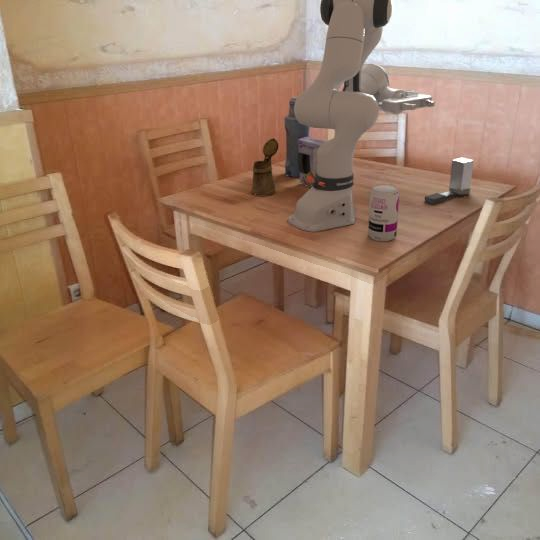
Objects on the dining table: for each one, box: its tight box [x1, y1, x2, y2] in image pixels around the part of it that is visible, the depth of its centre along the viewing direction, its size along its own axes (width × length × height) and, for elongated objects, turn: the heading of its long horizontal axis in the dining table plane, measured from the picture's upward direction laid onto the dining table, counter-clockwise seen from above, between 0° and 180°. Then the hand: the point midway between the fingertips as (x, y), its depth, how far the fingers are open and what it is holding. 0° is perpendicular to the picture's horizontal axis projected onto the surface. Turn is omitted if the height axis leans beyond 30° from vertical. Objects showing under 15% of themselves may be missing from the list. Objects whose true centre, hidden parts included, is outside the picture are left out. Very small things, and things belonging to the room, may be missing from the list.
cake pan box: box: [298, 136, 326, 188], centre depth 203 cm, size 19×5×18 cm, turn 33°
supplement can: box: [367, 183, 400, 242], centre depth 161 cm, size 8×8×15 cm
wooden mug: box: [251, 137, 279, 196], centre depth 203 cm, size 9×14×18 cm, turn 150°
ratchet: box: [424, 187, 471, 206], centre depth 192 cm, size 19×7×6 cm, turn 124°
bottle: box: [284, 96, 311, 178], centre depth 217 cm, size 10×10×30 cm
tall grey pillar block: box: [448, 157, 475, 191], centre depth 193 cm, size 5×5×10 cm
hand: (424, 106), depth 195 cm, fingers open, 8 cm apart
